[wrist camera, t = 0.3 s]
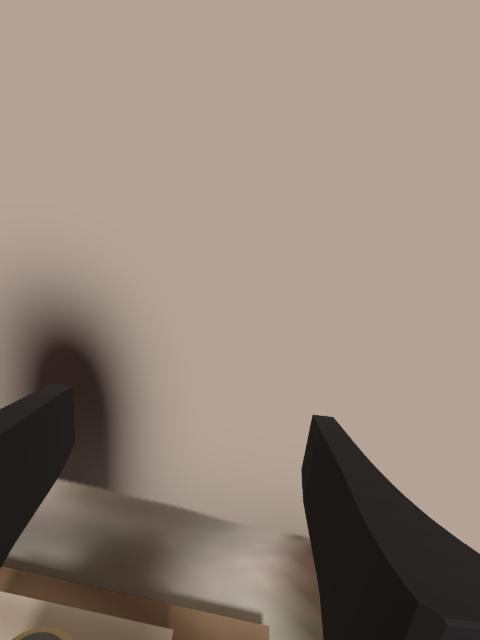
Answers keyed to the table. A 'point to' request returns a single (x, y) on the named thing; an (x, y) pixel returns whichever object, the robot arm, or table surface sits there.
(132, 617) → the wall socket panel
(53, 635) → the plug
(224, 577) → the table surface
